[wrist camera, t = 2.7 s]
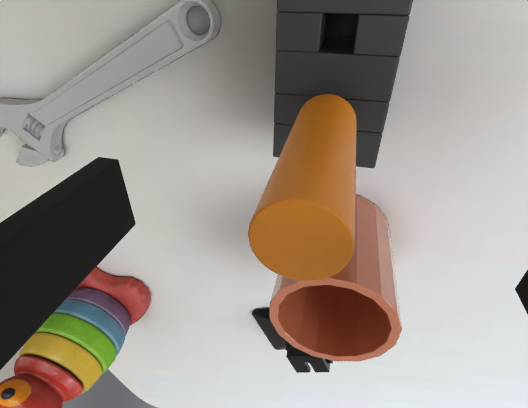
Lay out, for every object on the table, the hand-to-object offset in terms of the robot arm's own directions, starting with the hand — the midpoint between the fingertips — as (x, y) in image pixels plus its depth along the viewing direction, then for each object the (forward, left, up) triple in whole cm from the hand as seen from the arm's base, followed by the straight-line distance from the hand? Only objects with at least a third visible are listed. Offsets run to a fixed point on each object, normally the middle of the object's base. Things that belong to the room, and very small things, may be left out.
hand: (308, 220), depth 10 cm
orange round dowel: (0, 0, -15) cm, 15 cm away
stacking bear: (+28, -25, -15) cm, 40 cm away
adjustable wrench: (+2, -19, -15) cm, 24 cm away
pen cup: (+12, +2, -15) cm, 19 cm away
